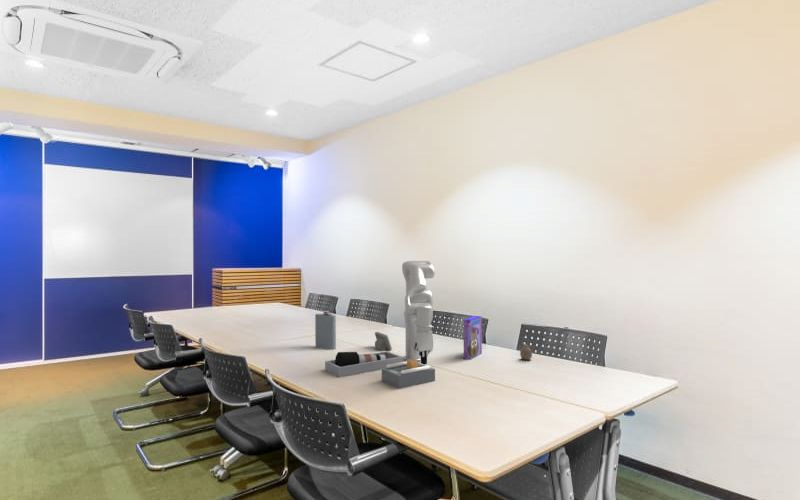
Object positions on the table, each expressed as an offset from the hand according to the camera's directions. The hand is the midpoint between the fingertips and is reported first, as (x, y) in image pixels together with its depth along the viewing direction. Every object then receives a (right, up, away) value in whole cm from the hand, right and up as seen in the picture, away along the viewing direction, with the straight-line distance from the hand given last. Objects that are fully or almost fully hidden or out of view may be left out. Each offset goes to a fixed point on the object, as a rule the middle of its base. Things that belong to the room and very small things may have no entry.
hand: (423, 363), depth 234 cm
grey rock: (-24, -7, +67) cm, 72 cm away
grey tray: (-32, -7, +19) cm, 38 cm away
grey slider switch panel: (-8, -7, -6) cm, 12 cm away
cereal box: (+33, -7, +46) cm, 57 cm away
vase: (+64, -7, +36) cm, 74 cm away
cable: (-32, -8, +20) cm, 38 cm away
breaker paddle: (-6, -1, -4) cm, 8 cm away
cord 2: (-5, -1, -11) cm, 12 cm away
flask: (-63, -7, +71) cm, 95 cm away
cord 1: (-12, -1, 0) cm, 12 cm away
